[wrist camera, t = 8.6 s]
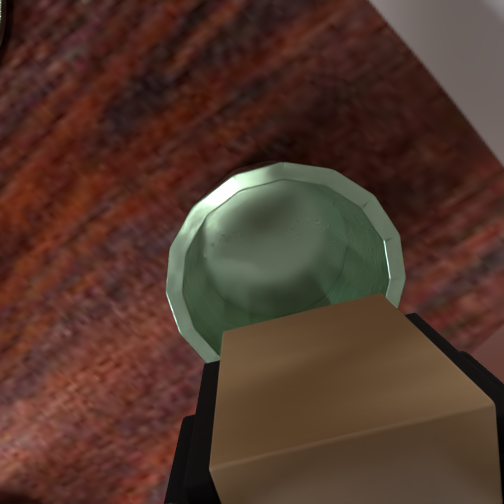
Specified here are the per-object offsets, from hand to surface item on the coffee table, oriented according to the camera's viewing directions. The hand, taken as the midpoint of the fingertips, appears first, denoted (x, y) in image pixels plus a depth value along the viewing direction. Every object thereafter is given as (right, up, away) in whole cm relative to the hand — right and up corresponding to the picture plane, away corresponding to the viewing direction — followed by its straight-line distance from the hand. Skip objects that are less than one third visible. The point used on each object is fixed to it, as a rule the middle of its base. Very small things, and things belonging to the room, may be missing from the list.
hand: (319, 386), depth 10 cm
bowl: (0, +4, +14) cm, 15 cm away
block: (0, 0, 0) cm, 0 cm away
